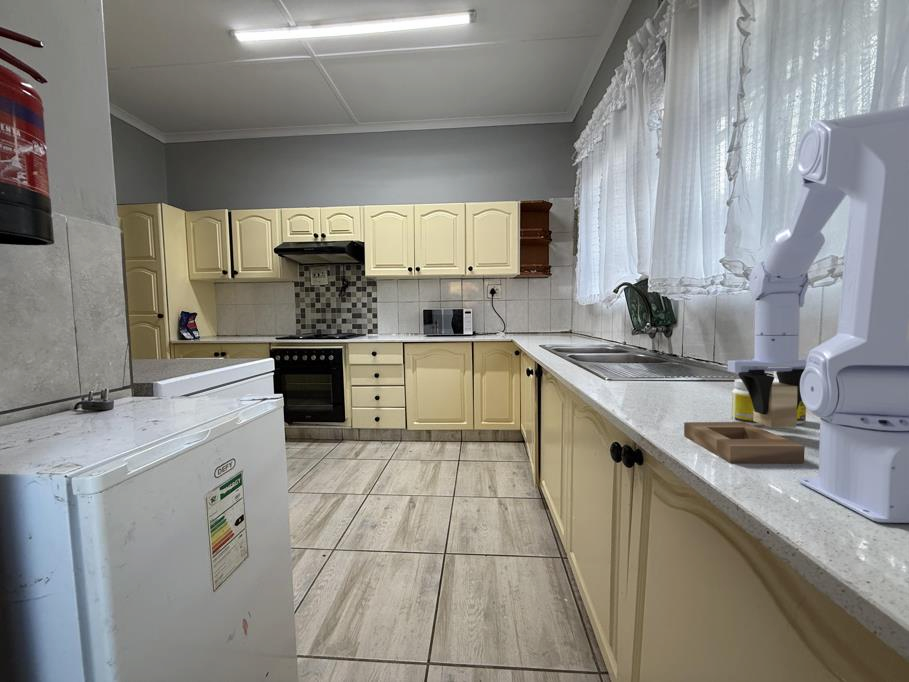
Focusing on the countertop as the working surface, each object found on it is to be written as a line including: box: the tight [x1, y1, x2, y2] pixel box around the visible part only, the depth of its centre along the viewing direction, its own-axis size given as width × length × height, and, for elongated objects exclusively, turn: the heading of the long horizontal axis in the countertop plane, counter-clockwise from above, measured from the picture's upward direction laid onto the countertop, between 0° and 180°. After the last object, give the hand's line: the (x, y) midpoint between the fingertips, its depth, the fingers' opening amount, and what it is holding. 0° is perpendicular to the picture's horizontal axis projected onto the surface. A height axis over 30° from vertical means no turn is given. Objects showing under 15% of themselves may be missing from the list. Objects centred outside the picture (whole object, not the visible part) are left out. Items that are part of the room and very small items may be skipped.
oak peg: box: [753, 382, 798, 429], centre depth 62 cm, size 4×4×7 cm
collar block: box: [683, 421, 806, 464], centre depth 57 cm, size 12×10×2 cm
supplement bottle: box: [731, 378, 763, 427], centre depth 70 cm, size 5×5×8 cm
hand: (774, 412), depth 62 cm, fingers closed on oak peg, 4 cm apart
